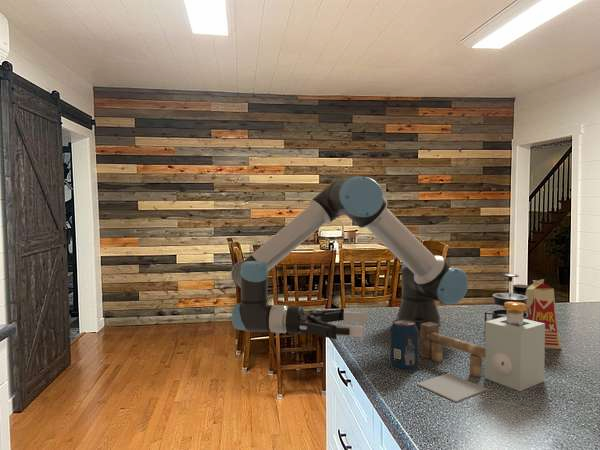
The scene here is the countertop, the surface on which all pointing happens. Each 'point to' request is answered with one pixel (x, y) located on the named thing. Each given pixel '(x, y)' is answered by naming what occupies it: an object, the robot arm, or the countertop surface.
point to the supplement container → (520, 289)
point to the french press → (506, 300)
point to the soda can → (404, 345)
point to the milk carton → (543, 311)
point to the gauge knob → (515, 313)
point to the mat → (452, 387)
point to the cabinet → (514, 353)
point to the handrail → (434, 346)
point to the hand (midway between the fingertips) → (365, 324)
